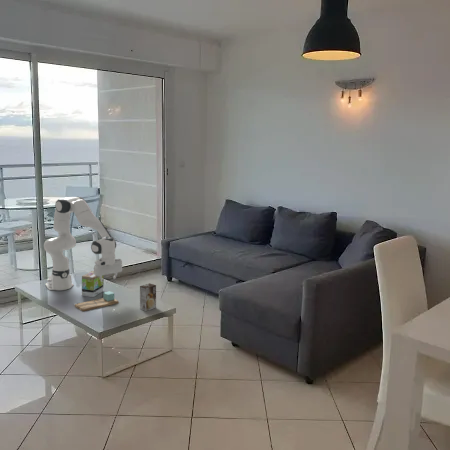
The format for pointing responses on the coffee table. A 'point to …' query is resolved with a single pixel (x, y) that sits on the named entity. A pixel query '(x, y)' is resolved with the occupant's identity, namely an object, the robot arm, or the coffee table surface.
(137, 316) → the coffee table surface
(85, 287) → the tea box
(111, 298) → the block
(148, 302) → the coffee box
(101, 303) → the board
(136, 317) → the coffee table surface
